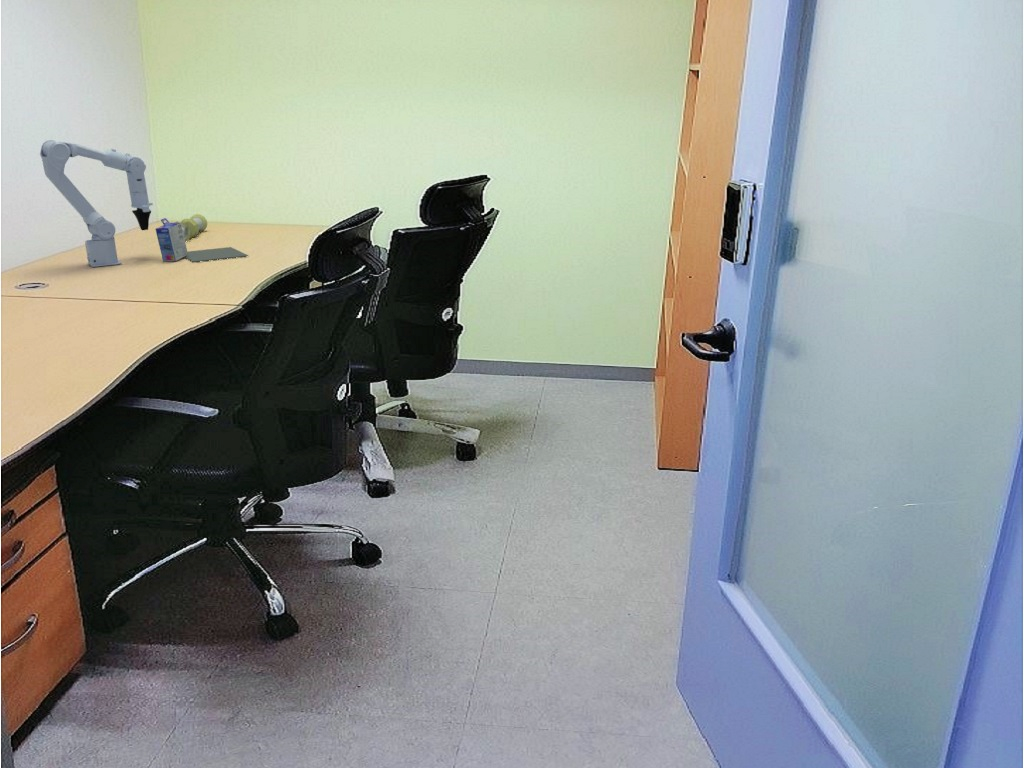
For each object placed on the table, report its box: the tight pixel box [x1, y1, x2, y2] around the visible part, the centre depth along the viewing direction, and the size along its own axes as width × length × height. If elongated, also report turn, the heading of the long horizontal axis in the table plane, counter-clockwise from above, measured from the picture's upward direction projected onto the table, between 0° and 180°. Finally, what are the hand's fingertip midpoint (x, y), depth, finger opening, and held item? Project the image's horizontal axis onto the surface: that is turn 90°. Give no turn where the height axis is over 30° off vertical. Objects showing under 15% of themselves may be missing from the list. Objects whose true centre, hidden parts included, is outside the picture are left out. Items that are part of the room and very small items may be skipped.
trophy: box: [173, 213, 208, 243], centre depth 345 cm, size 8×8×30 cm
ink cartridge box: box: [155, 217, 188, 262], centre depth 299 cm, size 10×6×14 cm, turn 174°
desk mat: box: [184, 246, 249, 263], centre depth 309 cm, size 20×20×1 cm
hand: (144, 229), depth 300 cm, fingers closed
